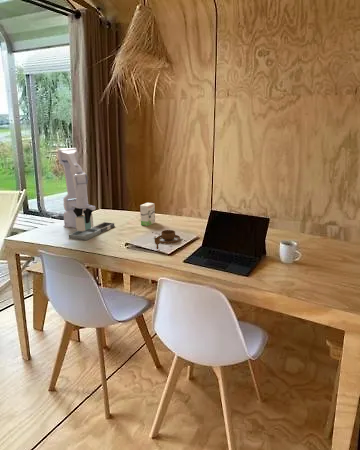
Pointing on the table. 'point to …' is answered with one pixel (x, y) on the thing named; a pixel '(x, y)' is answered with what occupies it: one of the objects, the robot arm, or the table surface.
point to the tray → (85, 234)
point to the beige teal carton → (83, 223)
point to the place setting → (167, 237)
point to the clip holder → (108, 226)
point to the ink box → (147, 214)
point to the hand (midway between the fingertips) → (84, 222)
